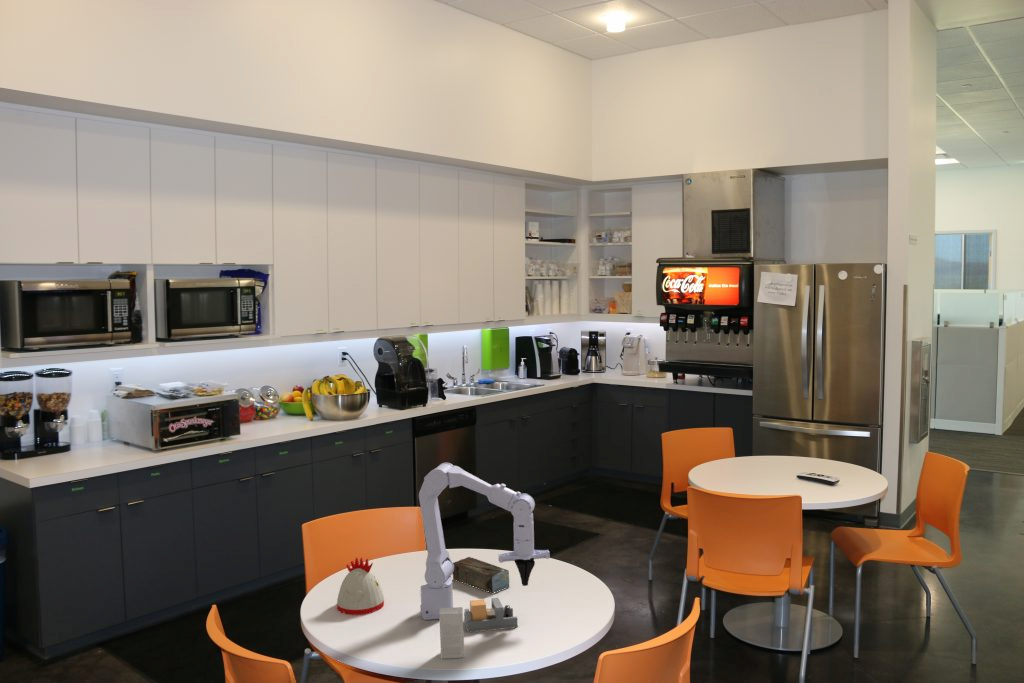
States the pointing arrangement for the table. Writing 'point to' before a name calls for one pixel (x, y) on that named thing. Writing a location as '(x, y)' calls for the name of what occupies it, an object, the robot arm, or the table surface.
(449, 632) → the skincare box
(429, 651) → the table surface
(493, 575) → the beverage carton
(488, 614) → the shaft
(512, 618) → the housing
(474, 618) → the block
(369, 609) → the chicken head dome
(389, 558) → the table surface
